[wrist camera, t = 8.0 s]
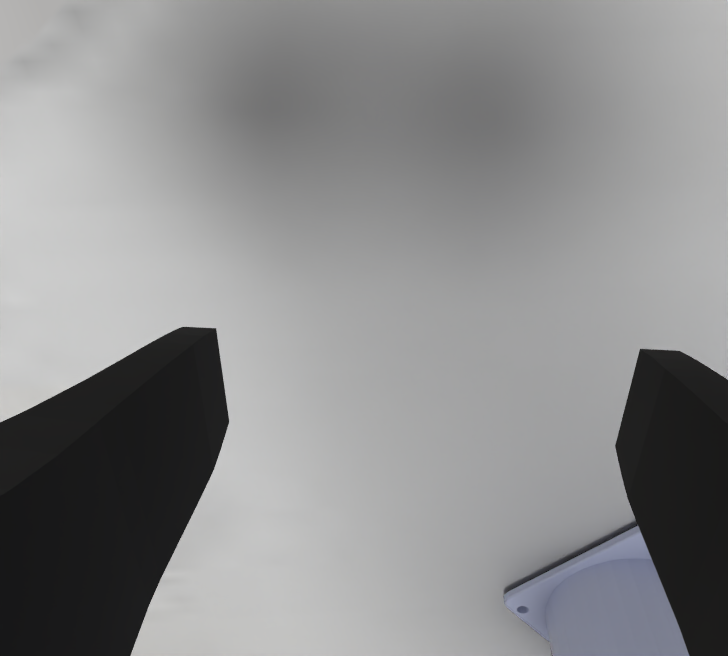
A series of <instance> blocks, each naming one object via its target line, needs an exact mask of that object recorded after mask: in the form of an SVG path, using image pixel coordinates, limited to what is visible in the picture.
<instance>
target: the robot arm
mask: <svg viewBox="0 0 728 656" xmlns="http://www.w3.org/2000/svg"><path fill="white" fill-rule="evenodd" d="M228 424H229V418H228V411H227V403H226V396H225V389H224V382H223V375H222V368H221V361H220V354H219V347H218V340H217V332H216V328H195V327H181V328H179V329H177V330H174V331H172V332H170V333H168V334H166V335H164V336H162V337H161V338H159V339H157V340H155V341H153V342H151V343H150V344H148V345H146V346H144V347H143V348H141V349H139V350H137V351H136V352H134V353H132V354H130V355H129V356H127V357H125V358H123V359H122V360H120V361H118V362H116V363H115V364H113V365H111V366H109V367H108V368H106V369H104V370H102V371H100V372H99V373H97V374H95V375H93V376H92V377H90V378H88V379H86V380H84V381H82V382H80V383H78V384H77V385H75V386H73V387H71V388H69V389H67V390H65V391H63V392H61V393H59V394H57V395H55V396H54V397H52V398H50V399H48V400H46V401H44V402H42V403H40V404H38V405H36V406H34V407H32V408H30V409H28V410H26V411H24V412H22V413H20V414H18V415H16V416H13V417H11V418H9V419H7V420H5V421H3V422H0V656H130V655H131V652H132V650H133V647H134V644H135V641H136V639H137V636H138V633H139V631H140V628H141V625H142V623H143V620H144V617H145V614H146V612H147V609H148V606H149V604H150V602H151V599H152V597H153V595H154V593H155V590H156V588H157V586H158V584H159V581H160V579H161V577H162V575H163V573H164V571H165V569H166V567H167V565H168V563H169V561H170V559H171V557H172V555H173V553H174V551H175V549H176V546H177V544H178V542H179V540H180V538H181V536H182V534H183V532H184V530H185V528H186V526H187V524H188V522H189V520H190V518H191V516H192V514H193V512H194V510H195V508H196V506H197V504H198V502H199V500H200V498H201V495H202V493H203V491H204V489H205V487H206V485H207V483H208V481H209V479H210V477H211V474H212V472H213V470H214V467H215V464H216V461H217V459H218V456H219V453H220V450H221V447H222V443H223V440H224V437H225V434H226V430H227V427H228ZM615 447H616V452H617V456H618V461H619V465H620V469H621V474H622V478H623V482H624V486H625V490H626V493H627V497H628V500H629V503H630V506H631V508H632V511H633V514H634V516H635V519H636V521H637V524H638V526H636V527H634V528H632V529H630V530H628V531H626V532H624V533H622V534H620V535H618V536H616V537H614V538H612V539H611V540H609V541H607V542H605V543H603V544H601V545H599V546H597V547H595V548H593V549H591V550H589V551H587V552H585V553H583V554H581V555H579V556H577V557H575V558H573V559H571V560H569V561H567V562H565V563H563V564H561V565H559V566H557V567H555V568H553V569H551V570H550V571H548V572H546V573H544V574H542V575H540V576H538V577H536V578H534V579H532V580H530V581H528V582H526V583H524V584H522V585H520V586H518V587H516V588H514V589H512V590H510V591H508V592H507V593H506V594H505V595H504V602H505V606H506V607H507V608H508V609H509V610H511V611H512V612H513V613H514V614H516V615H517V616H518V617H519V618H520V619H522V620H523V621H524V622H525V623H527V624H528V625H529V626H530V627H531V628H533V629H534V630H535V631H536V632H538V633H539V634H540V635H541V636H542V637H544V638H545V639H546V640H547V641H549V642H550V646H551V651H552V656H728V380H727V379H726V378H724V377H723V376H721V375H719V374H718V373H716V372H715V371H713V370H711V369H710V368H708V367H707V366H705V365H704V364H702V363H700V362H699V361H697V360H695V359H693V358H692V357H690V356H688V355H686V354H684V353H682V352H680V351H671V350H650V349H640V352H639V356H638V360H637V363H636V367H635V371H634V375H633V379H632V383H631V387H630V391H629V395H628V399H627V402H626V406H625V410H624V414H623V418H622V422H621V426H620V430H619V434H618V438H617V441H616V445H615Z"/></svg>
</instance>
